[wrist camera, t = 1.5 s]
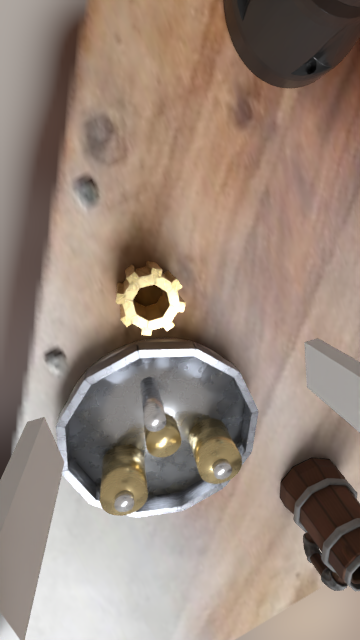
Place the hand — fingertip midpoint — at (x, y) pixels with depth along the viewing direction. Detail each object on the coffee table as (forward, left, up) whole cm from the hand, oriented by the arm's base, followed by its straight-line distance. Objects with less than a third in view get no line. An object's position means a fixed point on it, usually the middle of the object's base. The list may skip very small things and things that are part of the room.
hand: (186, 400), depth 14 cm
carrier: (+16, +12, -24) cm, 31 cm away
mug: (+17, +46, -24) cm, 55 cm away
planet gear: (0, 0, -24) cm, 24 cm away
